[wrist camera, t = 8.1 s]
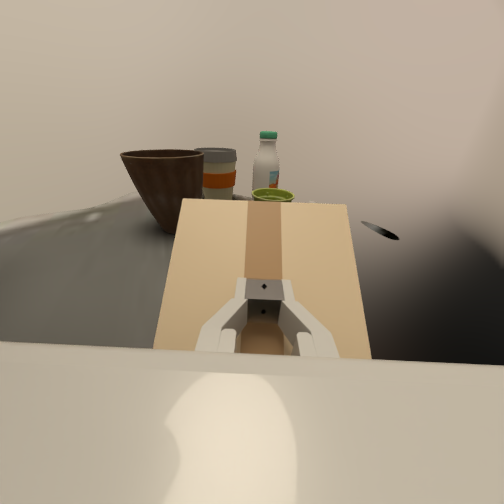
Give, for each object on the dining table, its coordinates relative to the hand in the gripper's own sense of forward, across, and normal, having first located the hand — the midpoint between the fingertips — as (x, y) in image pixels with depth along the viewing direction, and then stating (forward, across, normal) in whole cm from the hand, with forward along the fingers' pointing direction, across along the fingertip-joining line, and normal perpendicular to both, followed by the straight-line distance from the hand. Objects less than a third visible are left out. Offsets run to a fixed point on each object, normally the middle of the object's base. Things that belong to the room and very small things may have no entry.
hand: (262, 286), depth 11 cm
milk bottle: (+51, -2, +13) cm, 53 cm away
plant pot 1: (+33, +19, +13) cm, 40 cm away
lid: (+1, 0, +1) cm, 2 cm away
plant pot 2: (+34, -3, +13) cm, 36 cm away
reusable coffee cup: (+55, +13, +13) cm, 58 cm away
